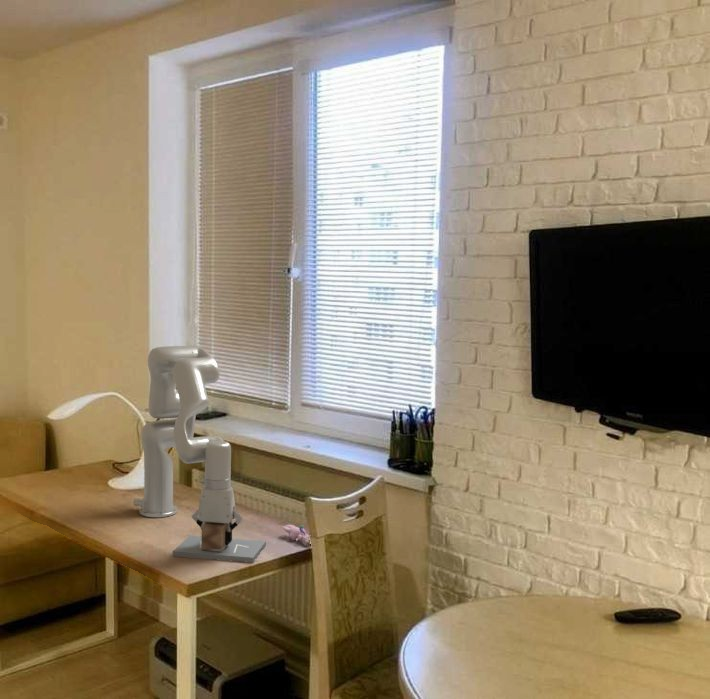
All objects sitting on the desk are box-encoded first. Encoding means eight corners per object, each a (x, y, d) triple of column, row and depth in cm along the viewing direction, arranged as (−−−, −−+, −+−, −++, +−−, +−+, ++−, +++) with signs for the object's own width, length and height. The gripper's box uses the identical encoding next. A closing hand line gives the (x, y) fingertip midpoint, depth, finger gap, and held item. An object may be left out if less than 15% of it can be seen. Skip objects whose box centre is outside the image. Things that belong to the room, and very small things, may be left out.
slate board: (172, 556, 225) (172, 551, 225) (189, 540, 239) (189, 535, 239) (253, 562, 222) (253, 557, 222) (265, 546, 236) (265, 541, 236)
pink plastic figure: (320, 549, 238) (290, 529, 249) (322, 531, 237) (292, 512, 248) (304, 553, 234) (274, 533, 245) (307, 535, 233) (277, 515, 243)
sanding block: (201, 549, 226) (201, 526, 225) (212, 538, 236) (213, 516, 235) (221, 551, 225) (221, 528, 224) (231, 540, 235) (232, 517, 234)
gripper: (184, 484, 226) (184, 544, 228) (242, 488, 224) (241, 549, 225) (194, 478, 234) (193, 536, 235) (249, 482, 231) (248, 540, 233)
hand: (217, 542), depth 230 cm, fingers closed on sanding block, 6 cm apart
